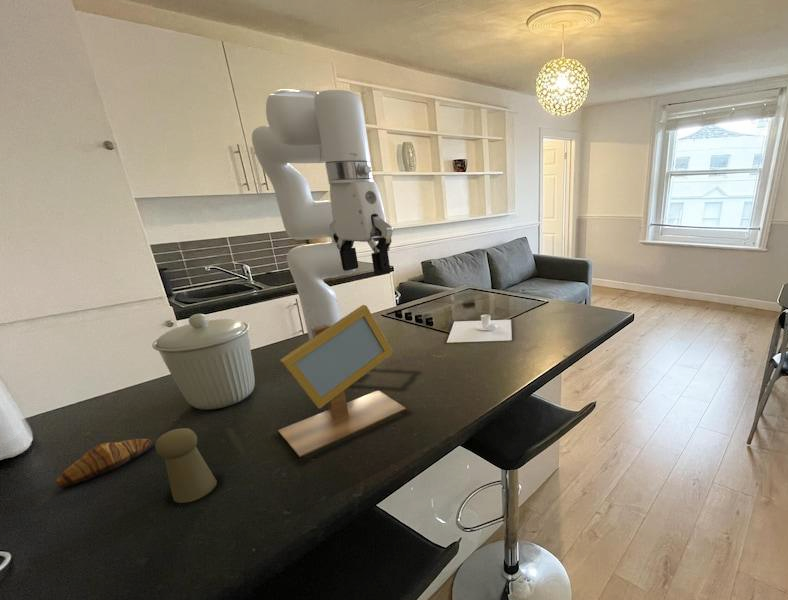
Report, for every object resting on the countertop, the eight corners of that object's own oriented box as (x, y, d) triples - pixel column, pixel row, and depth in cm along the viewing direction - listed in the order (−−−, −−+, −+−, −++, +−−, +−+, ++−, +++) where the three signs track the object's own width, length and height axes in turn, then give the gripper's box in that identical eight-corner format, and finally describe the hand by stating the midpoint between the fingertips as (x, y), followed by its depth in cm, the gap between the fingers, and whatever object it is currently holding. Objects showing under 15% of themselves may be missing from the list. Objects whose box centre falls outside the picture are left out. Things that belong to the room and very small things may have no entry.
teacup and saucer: (498, 331, 132) (497, 319, 130) (473, 332, 132) (472, 320, 130) (498, 323, 140) (498, 311, 138) (475, 323, 140) (474, 312, 139)
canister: (159, 412, 92) (123, 324, 84) (232, 377, 108) (207, 300, 100) (215, 425, 86) (182, 331, 78) (284, 386, 102) (262, 305, 94)
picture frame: (316, 406, 79) (279, 359, 72) (389, 350, 87) (363, 304, 80) (319, 409, 78) (282, 362, 71) (393, 352, 86) (366, 305, 79)
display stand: (279, 436, 81) (251, 338, 74) (379, 395, 95) (364, 309, 87) (301, 462, 73) (271, 355, 65) (407, 414, 87) (393, 321, 79)
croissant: (68, 497, 67) (54, 473, 65) (53, 484, 70) (40, 461, 69) (162, 451, 78) (153, 429, 76) (146, 442, 81) (136, 421, 79)
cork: (187, 479, 70) (165, 424, 66) (224, 475, 71) (204, 421, 67) (164, 504, 65) (138, 446, 61) (203, 501, 65) (180, 443, 61)
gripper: (399, 171, 69) (412, 272, 75) (340, 175, 79) (355, 264, 85) (362, 172, 63) (379, 280, 70) (303, 176, 73) (322, 271, 79)
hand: (366, 271), depth 77 cm, fingers open, 9 cm apart
